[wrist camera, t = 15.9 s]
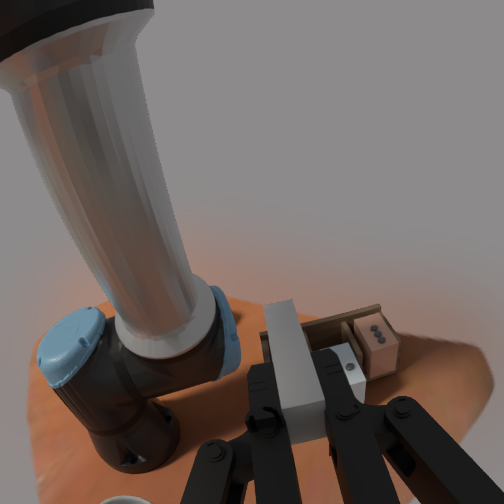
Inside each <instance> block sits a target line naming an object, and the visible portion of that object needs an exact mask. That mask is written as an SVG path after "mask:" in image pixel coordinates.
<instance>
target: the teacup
mask: <svg viewBox="0 0 504 504" xmlns="http://www.w3.org/2000/svg"><path fill="white" fill-rule="evenodd" d="M100 504H153V503H151V502H149V501H147V500H145V499H143V498H140V497H135V496H127V495H124V496H116V497H112V498H109V499H107V500H105V501H103V502H102V503H100Z"/></svg>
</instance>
